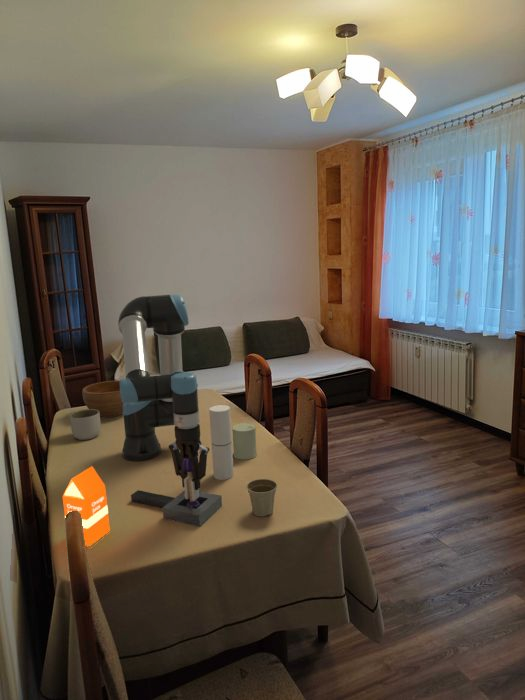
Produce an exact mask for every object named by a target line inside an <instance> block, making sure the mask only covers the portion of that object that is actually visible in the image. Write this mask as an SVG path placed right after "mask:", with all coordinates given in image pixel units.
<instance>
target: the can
mask: <svg viewBox="0 0 525 700" xmlns="http://www.w3.org/2000/svg"><path fill="white" fill-rule="evenodd" d="M256 429H257V428H256V425H255V424H253V423H249V422H241V423H236V424H234V425H233V426H231V432H232V441H233V442H232V448H233V453H232V455H233V458H235V459H237V460H241V461H243V460H244V461H245V460H251V459H254V458H256V457H257V455H258V453H257V439H256V438H257V437H256V434H257V433H256Z"/></svg>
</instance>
